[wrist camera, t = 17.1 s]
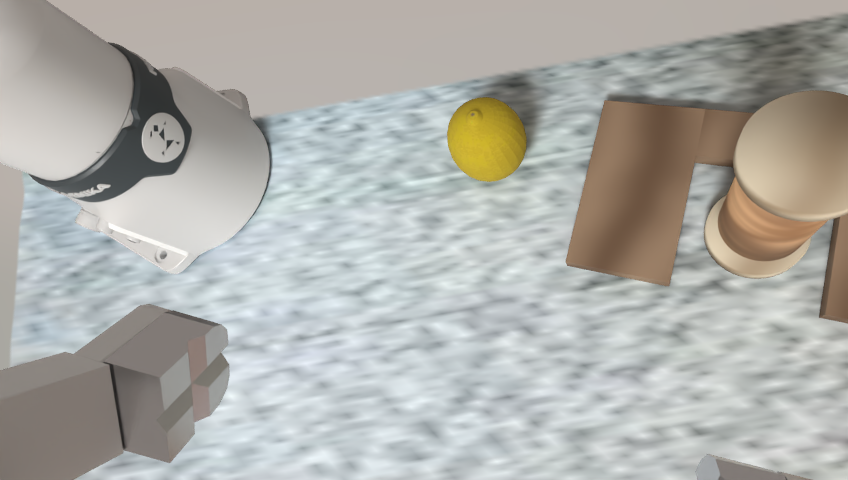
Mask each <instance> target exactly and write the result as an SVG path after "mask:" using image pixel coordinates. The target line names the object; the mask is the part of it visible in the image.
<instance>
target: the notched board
mask: <svg viewBox="0 0 848 480" xmlns="http://www.w3.org/2000/svg"><path fill="white" fill-rule="evenodd" d="M753 114H754V113H747V112H735V111H723V110H712V109H700V108H688V107H676V106H665V105H653V104H641V103H630V102H618V101H606V100H605V101H604V105H603V109H602V113H601V118H600V122H599V126H598V130H597V134H596V138H595V142H594V147H593V151H592V155H591V159H590V163H589V167H588V171H587V175H586V180H585V184H584V188H583V192H582V196H581V200H580V204H579V208H578V213H577V217H576V221H575V225H574V229H573V233H572V237H571V242H570V246H569V250H568V254H567V258H566V264H567V266H572V267H577V268H581V269H586V270H591V271H596V272H601V273H606V274H611V275H615V276H620V277H625V278H630V279H635V280H640V281H645V282H649V283H654V284H659V285H664V286H669V284H670V280H671V275H672V270H673V265H674V260H675V255H676V250H677V245H678V241H679V236H680V231H681V226H682V221H683V216H684V211H685V206H686V201H687V197H688V192H689V187H690V182H691V177H692V172H693V167H694V163H702V164H710V165H718V166H726V167H733V157H734V151H735V148H736V145H737V142H738V139H739V137H740V134H741V132H742V130H743V128H744V126H745V125H746V123H747V122H748V120H749V119H750V118H751V117H752V115H753ZM819 318H824V319H829V320H834V321H839V322H844V323H848V214H846V215H843V216H840V217H838V218H834V224H833V230H832V237H831V244H830V250H829V257H828V263H827V270H826V276H825V283H824V289H823V296H822V303H821V309H820V316H819Z"/></svg>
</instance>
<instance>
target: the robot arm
mask: <svg viewBox="0 0 848 480" xmlns="http://www.w3.org/2000/svg"><path fill="white" fill-rule="evenodd" d="M0 163H1V164H4V165H7V166H10V167H12V168H15V169H18V170H20V171H23V172H26V173H28V174H29V175H30V176H31V177H32V178H33V179H34V180H35V181H37V182H38V183H40V184H42V185H44V186H45V187H47V188H48V189H50V190H52V191H54V192H57V193H59V194H62V195H65V196H67V197H68V198H70V199H71V200H73V201H74V202H76V203H77V204H79V205H80V206H82V209H81V210H80V211H81V212H79V214H78V216H77V218H76V220H75V221H76V222H75V223H77V224H79V225H81V226H83V227H85V228H88V229H90V230H93V231H96V232H103V233H104V234H106V235H107V236H109V237H111V238H112V239H114V240H116V241H117V242H119V243H120V244H122V245H124V246H125V247H127V248H128V249H130V250H132V251H133V252H135V253H136V254H138V255H140V256H141V257H143V258H145V259H146V260H148V261H149V262H151V263H153V264H154V265H156V266H157V267H159V268H161V269H162V270H164V271H166V272H168V273H171V274H178V273H180V272H182V271H183V270H185V269H186V268H187V267H188V266H189V265H190V264H191V263H192V262H193V261H194V260H195V259H196V258H197V257H198V256H199V255H201V254H202V253H204V252H206V251H208V250H210V249H213V248H215V247H217V246H219V245H221V244H223V243H224V242H226V241H227V240H229V239H230V238H231V237H233V236H234V235H235V234H236V233H237V232H238V231H240V230H241V228H242V227H243V226H244V225H245V224H246V223H247V222H248V220H249V219H250V218H251V216H252V215H253V213H254V212H255V210H256V209H257V207H258V205H259V203H260V201H261V199H262V196H263V194H264V191H265V188H266V185H267V181H268V176H269V165H270V160H269V151H268V146H267V143H266V140H265V138H264V136H263V134H262V132H261V131H260V129H259V128H258V127H257V125H256V124H255V123H254V122H253V120H252V118H251V116H250V111H249V106H248V102H247V98H246V96H245V95H244V94H242V93H241V92H239V91H237V90H235V89H230V90H222V91H215V90H213V89H212V88H210V87H209V86H207V85H206V84H204V83H203V82H201V81H200V80H198V79H196V78H195V77H193V76H192V75H190V74H189V73H187V72H185V71H184V70H182V69H180V68H177V67H173V68H172V69H168V68H165V69H160V70H157V69H155V68H154V67H153V66H151V64H149V63H148V62H147V61H146V60H145V59H143V58H142V57H140V56H139V55H137V54H135V53H134V52H131V51H129V50H127V49H126V48H124V47H122V46H120V45H118V44H114V43H109V42H108V43H107V42H106V41H104V40H103V39H101V38H100V37H98V36H97V35H96V34H94V33H93V32H91V31H90V30H88V29H87V28H86V27H84V26H83V25H81V24H80V23H78V22H77V21H75V20H74V19H73V18H71V17H70V16H68V15H67V14H65V13H64V12H62V11H61V10H59V9H58V8H57V7H55V6H54V5H52V4H51V3H49V2H48V1H46V0H0ZM166 255H167V256H166ZM227 345H228V335H227V329H226V328H225V327H224V326H222V325H221V324H218V323H214V322H211V321H207V320H204V319H201V318H197V317H194V316H190V315H187V314H183V313H180V312H177V311H171V310H168V309H164V308H161V307H158V306H154V305H151V304H146V305H140V306H139V307H137V308H136V309H134V310H133V311H132V312H130V313H129V314H128V315H126V316H125V317H124V318H122V319H121V320H119V321H118V322H117V323H115V324H114V325H113V326H111V327H110V328H108V329H107V330H106V331H104V332H103V333H102V334H100V335H99V336H98V337H96V338H95V339H93V340H92V341H91V342H89V343H88V344H87V345H85V346H84V347H83V348H81V349H80V350H78V351H77V352H76V353H74V354H71V353H67V352H64V353H60V354H57V355H53V356H50V357H46V358H42V359H39V360H35V361H32V362H28V363H25V364H21V365H18V366H14V367H11V368H7V369H4V370H0V480H74V479H75V478H77V477H79V476H81V475H83V474H85V473H87V472H89V471H91V470H92V469H94V468H96V467H98V466H100V465H102V464H104V463H106V462H107V461H109V460H111V459H113V458H115V457H117V456H119V455H121V454H123V452H124V451H123V450H125V451H129V452H132V453H136V454H139V455H143V456H146V457H150V458H154V459H157V460H161V461H164V462H168V463H170V462H171V461H172V460H173V459H174V458H175V457H176V455H177V454H178V453H179V452H180V451H181V450H182V448H183V447H184V446H185V445H186V444H187V442H188V441H189V440H190V439H191V438H192V437H193V435H194V434H195V427H194V422H196V421H199V420H201V419H203V418H206V417H208V416H210V415H211V414H212V413H213V411H214V410H215V409H216V408H217V406H218V405H219V404H220V402H221V400H222V398H223V396H224V394H225V391H226V389H227V386H228V380H229V364H228V362H227V361H226V359H225V358H224V356H223V355H222V353H221V352H222V351H223V350H224V349H225V347H226V346H227ZM695 472H696V476H697V480H811V479H807V478H803V477H799V476H795V475H791V474H787V473H783V472H775V471H772V470H768V469H764V468H761V467H757V466H753V465H749V464H745V463H741V462H737V461H734V460H730V459H726V458H722V457H718V456H714V455H710V454H707V455H706V456H705V457H704V458H702V459H701V461H700V463H699V465H698V467H697V469H696V471H695Z"/></svg>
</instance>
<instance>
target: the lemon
mask: <svg viewBox="0 0 848 480" xmlns="http://www.w3.org/2000/svg"><path fill="white" fill-rule="evenodd" d="M447 138H448V147H449V150H450V153H451V155H452V158H453V160H454V161H455V163H456V164H457V165H458V167H459V168H460V169H461V170H462V171H463V172H464V173H466V174H467V175H468V176H470V177H472V178H475V179H477V180H480V181H488V182H491V181H498V180H501V179H503V178H506V177H507V176H509V175H510V174H512V173H513V172H514V171H515V170H516V169H517V168H518V167H519V165H520V164H521V162H522V160H523V158H524V155H525V151H526V133H525V130H524V126H523V124H522V122H521V120H520V119H519V117H518V115H517V114H516V113H515V112H514V111H513V110H512V109H511V108H510V107H509V106H508V105H506V104H505V103H503V102H501V101H499V100H497V99H494V98H489V97H482V98H476V99H472V100H470V101H468V102H466V103H464V104H463V105H462V106H460V107H459V108H458V109H457V111H456V112H455V113H454V114H453V116H452V118H451V120H450V122H449V126H448V132H447Z"/></svg>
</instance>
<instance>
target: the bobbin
mask: <svg viewBox="0 0 848 480" xmlns="http://www.w3.org/2000/svg"><path fill="white" fill-rule="evenodd" d="M733 168H734V173H735V178H734V180H733V182H732V184H731V187H730V189H729V191H728V193H727V195H725V196H724V197H722V198H721V199H720V200H719V201H718V202H717V203H716V204H715V205H714V206H713V208H712V210H711V211H710V213H709V216H708V218H707V220H706V224H705V227H704V240H705V245H706V247H707V250H708V252H709V254H710V255H711V257H712V258H713V259H714V260H715V261H716V263H718V264H719V265H720V266H721V267H722V268H724V269H725V270H727V271H729V272H731V273H733V274H735V275H738V276H741V277H745V278H754V279H761V278H769V277H773V276H776V275H779V274H781V273H783V272H785V271H787V270H788V269H790V268H791V267H792V266H793V265H795V264H796V263H797V262H798V261H799V260H800V259H801V258H802V257H803V256H804V254H805V253H806V251H807V249H808V247H809V245H810V241H811V236H812V235H813V234H814V233H815V232H816V231H817V230H818V229H819V228H820V227H821V226H823V225H824V224H825V223H826V222H827V221H828V220H830V219H834V218H838V217H840V216H843V215H846V214H848V96H847V95H844V94H840V93H836V92H829V91H802V92H796V93H792V94H788V95H785V96H782V97H780V98H777V99H775V100H773V101H771V102H769V103H767V104H766V105H764V106H763V107H762V108H760V109H759V110H758V111H757V112H756V113H754V114H753V115H752V117H751V118H750V119H749V120H748V122H747V123H746V125H745V126H744V128H743V130H742V132H741V134H740V137H739V139H738V142H737V145H736V148H735V151H734V157H733Z"/></svg>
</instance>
